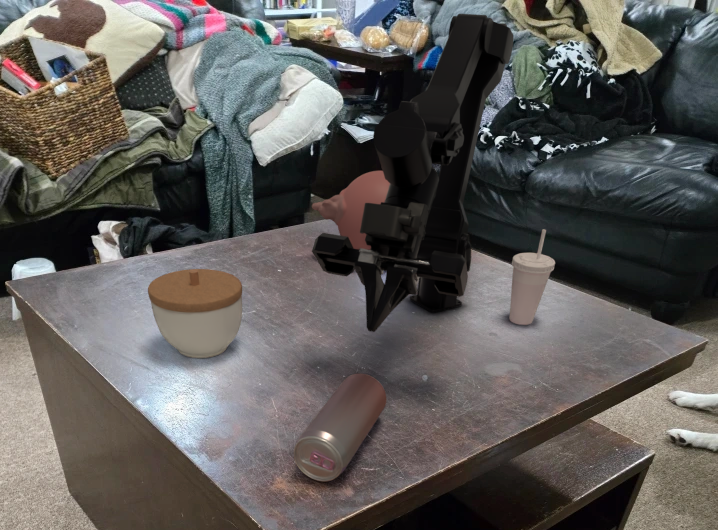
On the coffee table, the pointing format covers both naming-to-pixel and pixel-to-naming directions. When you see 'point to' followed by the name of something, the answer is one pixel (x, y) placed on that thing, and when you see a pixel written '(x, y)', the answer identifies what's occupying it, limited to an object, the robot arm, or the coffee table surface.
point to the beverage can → (340, 428)
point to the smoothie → (529, 283)
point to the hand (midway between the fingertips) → (370, 330)
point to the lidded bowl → (197, 310)
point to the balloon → (354, 205)
